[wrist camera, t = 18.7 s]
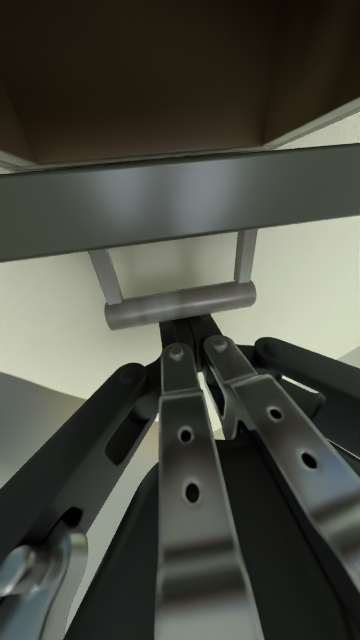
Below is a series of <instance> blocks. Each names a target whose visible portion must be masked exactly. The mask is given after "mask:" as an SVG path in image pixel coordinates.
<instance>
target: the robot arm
mask: <svg viewBox="0 0 360 640" xmlns="http://www.w3.org/2000/svg"><path fill="white" fill-rule="evenodd" d="M159 326H160V333H161V341H162V353H161V355H160V357H159V358H158V359H157V360H156V361H154V362H153V363H151V364H149V365H147V366H145V367H144V366H143V365H141V364H139V363H128V364H125V365H123V366H121V367H120V368H118V369H117V370H116V371H115V372H114V373H113V374H112V375H111V376H110V377H109V378H108V379H107V380H106V381H105V382H104V383H103V385H102V386H101V387H100V388H99V389H98V390H97V391H96V392H95V393H94V394H93V395H92V396H91V397H90V398H89V399H88V400H87V401H86V402H85V403H84V404H83V405H82V406H81V407H80V408H79V409H78V410H77V411H76V412H75V413H74V414H73V415H72V416H71V417H70V418H69V419H68V420H67V421H66V422H65V423H64V424H63V426H61V427H60V429H59V430H58V431H57V432H56V433H55V434H54V435H53V436H52V437H51V438H50V439H49V440H48V441H47V442H46V443H45V444H44V445H43V446H42V447H41V448H40V449H39V450H38V451H37V452H36V453H35V454H34V455H33V456H32V457H31V458H30V459H29V460H28V461H27V462H26V463H25V464H24V465H23V466H22V467H21V468H20V470H19V471H17V473H16V474H15V475H14V476H13V477H12V478H11V479H10V480H9V481H8V482H7V483H6V484H5V485H4V486H3V487H2V488H1V489H0V640H360V460H359V459H358V458H356V457H355V456H353V455H351V454H350V453H348V452H347V451H349V452H351V453H353V454H354V455H356V456H358V457H359V458H360V369H359V368H357V367H354V366H351V365H348V364H346V363H343V362H340V361H337V360H334V359H332V358H329V357H326V356H323V355H321V354H318V353H315V352H312V351H310V350H307V349H304V348H301V347H298V346H296V345H293V344H290V343H287V342H285V341H282V340H279V339H276V338H272V337H263V338H260V339H258V340H257V341H256V342H255V345H254V346H250V345H238V344H235V343H234V342H233V341H232V340H231V339H230V338H228V337H226V336H223V335H222V333H221V331H220V330H219V328H218V326H217V325H216V323H215V321H214V320H213V318H212V317H211V315H210V314H204V315H198V316H193V317H187V318H181V319H176V320H170V321H164V322H159ZM198 372H203V375H204V384H205V387H206V389H207V391H208V394H209V396H210V398H211V401H212V403H213V405H214V408H215V410H216V412H217V415H218V417H219V419H220V422H221V425H222V430H223V434H224V437H225V440H216V439H214V435H213V431H212V426H211V422H210V418H209V414H208V409H207V405H206V401H205V397H204V393H203V390H201V388H200V383H199V379H198V374H197V373H198ZM282 375H284V376H286V377H288V378H290V379H292V380H294V381H296V382H299V383H301V384H303V385H305V386H307V387H309V388H311V389H313V390H316V391H318V392H319V393H312V392H309V391H307V390H305V389H303V388H301V387H299V386H297V385H295V384H293V383H291V382H289V381H287V380H284V379H282ZM157 413H159V462H158V463H157V464H156V465H154V466H153V468H152V469H151V470H150V471H149V472H148V473H147V475H146V476H145V477H144V479H143V480H142V482H141V483H140V485H139V487H138V488H137V490H136V492H135V494H134V496H133V498H132V500H131V502H130V504H129V506H128V508H127V510H126V512H125V514H124V517H123V518H122V521H121V522H120V525H119V527H118V529H117V531H116V533H115V535H114V537H113V539H112V541H111V543H110V545H109V547H108V549H107V551H106V553H105V555H104V557H103V559H102V561H101V563H100V565H99V567H98V570H97V571H96V573H95V576H94V578H93V580H92V582H91V584H90V586H89V588H88V590H87V592H86V594H85V596H84V598H83V600H82V602H81V604H80V606H79V608H78V610H77V612H76V614H75V616H74V618H73V620H72V622H71V624H70V627H69V628H68V631H67V633H66V635H65V628H66V622H67V618H68V614H69V610H70V607H71V604H72V601H73V598H74V596H75V594H76V592H77V589H78V587H79V585H80V583H81V580H82V578H83V575H84V572H85V568H86V564H87V558H88V541H87V537H86V533H87V531H88V530H89V528H90V526H91V525H92V523H93V521H94V520H95V518H96V516H97V515H98V513H99V511H100V510H101V508H102V506H103V505H104V503H105V501H106V500H107V498H108V496H109V495H110V493H111V491H112V489H113V488H114V486H115V485H116V483H117V482H118V480H119V478H120V476H121V475H122V473H123V472H124V470H125V468H126V466H127V465H128V463H129V462H130V460H131V458H132V457H133V455H134V453H135V452H136V450H137V448H138V447H139V445H140V443H141V442H142V440H143V438H144V437H145V435H146V433H147V432H148V430H149V428H150V427H151V425H152V423H153V422H154V420H155V418H156V416H157ZM326 438H327V439H329V440H330V441H332V442H334V443H335V444H337V445H339V446H341V447H342V448H344V449H346V450H347V451H345V450H343V449H342V448H340V447H339V446H337V445H335V444H334V443H332V442H330V441H329V440H327V439H326ZM64 636H65V637H64Z"/></svg>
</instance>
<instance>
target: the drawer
mask: <svg viewBox="0 0 360 640" xmlns="http://www.w3.org/2000/svg"><path fill="white" fill-rule="evenodd" d="M359 106H360V0H0V160H2V161H5V162H8V163H11V164H14V165H17V166H21V167H24V168H27V169H42V168H53V167H65V166H76V165H88V164H99V163H111V162H122V161H134V160H146V159H157V158H169V157H180V156H192V155H203V154H215V153H226V152H238V151H250V150H261V149H268V148H270V147H272V146H274V145H277V144H279V143H281V142H284V141H286V140H288V139H290V138H292V137H294V136H296V135H299V134H301V133H303V132H305V131H307V130H309V129H312V128H314V127H316V126H318V125H320V124H322V123H325V122H327V121H329V120H331V119H333V118H335V117H338V116H340V115H342V114H344V113H346V112H348V111H351V110H353V109H355V108H357V107H359ZM359 215H360V143H352V144H341V145H329V146H318V147H307V148H295V149H284V150H272V151H261V152H250V153H238V154H227V155H215V156H204V157H193V158H181V159H170V160H158V161H147V162H136V163H124V164H113V165H101V166H90V167H79V168H67V169H56V170H44V171H33V172H22V173H10V174H0V263H3V262H11V261H18V260H26V259H34V258H41V257H49V256H56V255H64V254H71V253H79V252H87V251H88V253H89V256H90V258H91V261H92V264H93V266H94V269H95V271H96V274H97V277H98V279H99V282H100V285H101V287H102V290H103V293H104V295H105V298H106V300H107V302H106V303H105V317H106V321H107V324H108V326H109V328H110V329H111V330H119V329H125V328H130V327H136V326H142V325H147V324H153V323H159V322H164V321H170V320H176V319H181V318H187V317H193V316H198V315H204V314H210V313H215V312H221V311H227V310H232V309H238V308H244V307H249V306H252V305H253V304H254V303H255V300H256V289H255V286H254V283H253V282H252V281H251V280H250V277H251V271H252V264H253V257H254V250H255V244H256V237H257V230H258V229H261V228H268V227H276V226H283V225H291V224H298V223H306V222H313V221H321V220H329V219H336V218H344V217H351V216H359ZM230 232H238V236H237V247H236V258H235V269H234V280H235V281H231V282H225V283H219V284H212V285H206V286H200V287H194V288H187V289H181V290H175V291H169V292H162V293H156V294H150V295H144V296H137V297H131V298H125V299H123V296H122V293H121V289H120V286H119V283H118V280H117V277H116V273H115V270H114V267H113V264H112V261H111V257H110V254H109V251H108V249H109V248H117V247H124V246H132V245H139V244H147V243H155V242H162V241H170V240H177V239H185V238H192V237H200V236H208V235H215V234H223V233H230Z"/></svg>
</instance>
